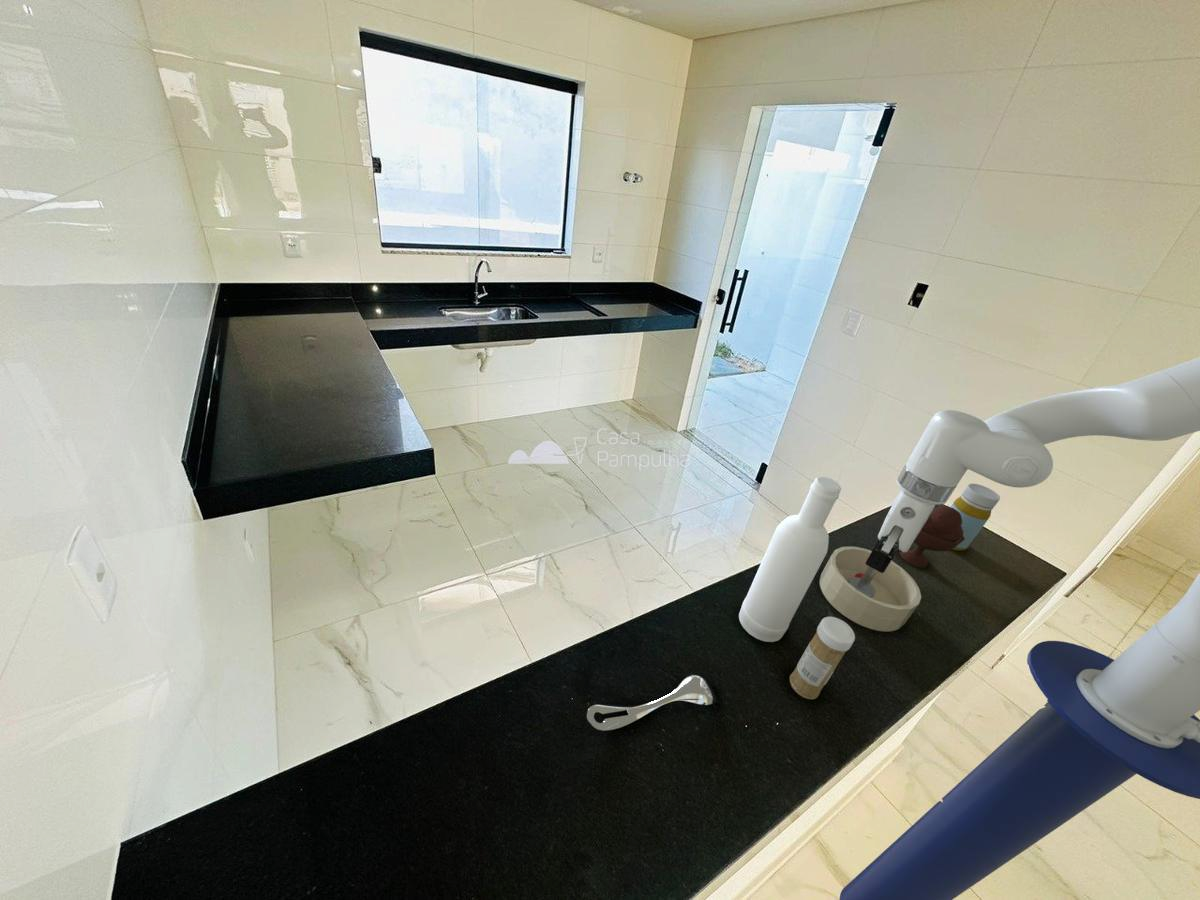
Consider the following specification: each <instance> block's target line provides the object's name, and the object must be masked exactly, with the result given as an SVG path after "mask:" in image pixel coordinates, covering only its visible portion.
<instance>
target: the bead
mask: <svg viewBox="0 0 1200 900" xmlns="http://www.w3.org/2000/svg"><path fill="white" fill-rule="evenodd" d="M863 575H864V574H862V573H858V574H856V575H855V576H854V577H859V578H862V576H863Z"/></svg>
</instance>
